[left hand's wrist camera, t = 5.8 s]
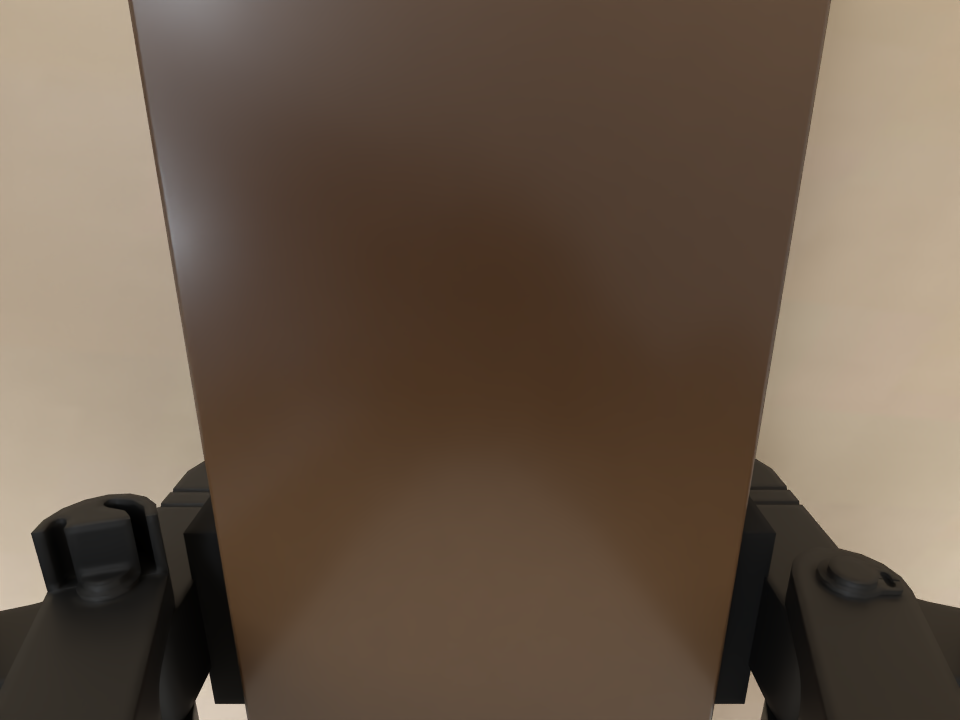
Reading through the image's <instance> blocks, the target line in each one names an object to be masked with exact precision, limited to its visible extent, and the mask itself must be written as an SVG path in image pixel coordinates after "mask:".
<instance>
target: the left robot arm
mask: <svg viewBox="0 0 960 720" xmlns="http://www.w3.org/2000/svg"><path fill="white" fill-rule="evenodd" d="M31 535H32V538H33V542H34V545H35V549H36V553H37V556H38V560H39V563H40V567H41V570H42V574H43V577H44V581H45V584H46V588H47V591H48V592H47V594H46V597H45V599H44V601H43V602H40V603H36V604H32V605H28V606H23V607H18V608H13V609H8V610H4V611H0V720H199V717H198V712H197V707H196V702H195V700H196V698H197V696H198V694H199V692H200V690H201V688H202V686H203V684H204V682H205V680H206V678H207V676H208V674H210V679H211V684H212V690H213V695H214V701H215V704H245V700H244V694H243V688H242V682H241V676H240V670H239V664H238V658H237V652H236V646H235V640H234V634H233V628H232V622H231V616H230V610H229V604H228V598H227V592H226V586H225V580H224V574H223V568H222V562H221V556H220V550H219V544H218V538H217V532H216V526H215V520H214V514H213V508H212V502H211V496H210V490H209V484H208V478H207V472H206V466H205V461H204V462H202V463H200V464H199V465H197V466H196V467H194V468H192V469H191V470H189V471H188V472H187V473H186V474H185V475H184V476H183V478H182V479H181V480H180V481H179V482H178V484H177V485H176V486H175V487H174V488H173V492H170V493H169V494H168V496H167V497H166V498H165V499H164V500H163V502H162V503H161V507H158V508H157V507H156V504H155V503H154V502H152V501H151V500H150V499H148V498H147V497H144V496H139V495H134V494H111V495H105V496H100V497H96V498H91V499H86V500H83V501H81V502H78V503H76V504H73V505H70V506H68V507H65V508H63V509H61V510H59V511H58V512H56V513H54V514H53V515H51V516H50V517H48V518H46V519H45V520H43V521H42V522H41V523H40V524H39V525H38V526H37V528H36V529H35V530H34V531H33V532H32V533H31ZM750 671H752V673H753V675H754V677H755V679H756V681H757V683H758V685H759V688H760V690H761V692H762V694H763V696H764V698H765V702H764V707H763V712H762V717H761V720H960V608H956V607H951V606H946V605H941V604H937V603H932V602H927V601H924V600H920V599H916V597H915V595H914V593H913V591H912V590H911V589H910V587H909V586H908V585H907V584H906V582H905V581H904V580H903V579H902V577H901V576H899V575H898V574H896V573H895V572H894V571H892V570H891V569H889V568H888V567H887V566H885V565H884V564H882V563H880V562H877V561H875V560H873V559H871V558H869V557H866V556H864V555H862V554H858V553H855V552H851V551H847V550H843V549H839V548H838V547H837V546H836V545H835V543H834V542H833V541H832V540H831V539H830V537H829V536H828V535H827V534H826V533H825V531H824V530H823V529H822V528H821V527H820V526H819V524H818V523H817V522H816V521H815V520H814V518H813V517H812V516H811V515H810V514H809V512H808V511H807V510H806V509H805V508H804V506H803V505H799V501H798V499H797V498H796V497H795V496H794V495H793V493H792V492H791V491H790V490H787V486H786V485H785V484H784V483H783V481H782V480H781V479H780V478H779V477H778V475H777V474H776V473H775V472H774V471H773V470H772V469H771V468H770V467H768V466H766V465H765V464H763V463H761V462H760V461H758V460H757V459H755V462H754V468H753V474H752V480H751V486H750V492H749V498H748V504H747V510H746V516H745V522H744V528H743V534H742V540H741V546H740V552H739V558H738V564H737V570H736V576H735V582H734V588H733V594H732V600H731V606H730V612H729V618H728V624H727V630H726V637H725V643H724V649H723V655H722V661H721V667H720V673H719V679H718V685H717V691H716V697H715V703H714V704H745V698H746V693H747V687H748V682H749V677H750Z"/></svg>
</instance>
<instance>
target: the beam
mask: <svg viewBox="0 0 960 720" xmlns="http://www.w3.org/2000/svg"><path fill="white" fill-rule="evenodd" d="M128 2H129V8H130V14H131V20H132V26H133V32H134V38H135V45H136V51H137V57H138V63H139V69H140V75H141V81H142V87H143V93H144V99H145V105H146V111H147V117H148V123H149V129H150V135H151V141H152V147H153V153H154V159H155V165H156V171H157V177H158V183H159V189H160V195H161V201H162V207H163V213H164V219H165V225H166V231H167V237H168V243H169V249H170V255H171V261H172V267H173V273H174V279H175V285H176V291H177V297H178V303H179V309H180V315H181V321H182V327H183V333H184V339H185V345H186V351H187V357H188V363H189V369H190V375H191V381H192V387H193V394H194V400H195V406H196V412H197V418H198V424H199V430H200V436H201V442H202V448H203V454H204V460H205V466H206V472H207V478H208V484H209V490H210V496H211V502H212V508H213V514H214V520H215V526H216V532H217V538H218V544H219V550H220V556H221V562H222V568H223V574H224V580H225V586H226V592H227V598H228V604H229V610H230V616H231V622H232V628H233V634H234V640H235V646H236V652H237V658H238V664H239V670H240V676H241V682H242V688H243V694H244V700H245V706H246V712H247V718H248V720H712V715H713V709H714V703H715V697H716V691H717V685H718V679H719V673H720V667H721V661H722V655H723V649H724V643H725V637H726V630H727V624H728V618H729V612H730V606H731V600H732V594H733V588H734V582H735V576H736V570H737V564H738V558H739V552H740V546H741V540H742V534H743V528H744V522H745V516H746V510H747V504H748V498H749V492H750V486H751V480H752V474H753V468H754V462H755V456H756V449H757V443H758V437H759V431H760V425H761V419H762V413H763V407H764V401H765V395H766V389H767V383H768V377H769V371H770V365H771V359H772V353H773V347H774V341H775V335H776V329H777V323H778V317H779V311H780V305H781V299H782V293H783V287H784V281H785V275H786V268H787V262H788V256H789V250H790V244H791V238H792V232H793V226H794V220H795V214H796V208H797V202H798V196H799V190H800V184H801V178H802V172H803V166H804V160H805V154H806V148H807V142H808V136H809V130H810V124H811V118H812V112H813V106H814V100H815V93H816V87H817V81H818V75H819V69H820V63H821V57H822V51H823V45H824V39H825V33H826V27H827V21H828V15H829V9H830V3H831V0H128Z"/></svg>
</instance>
